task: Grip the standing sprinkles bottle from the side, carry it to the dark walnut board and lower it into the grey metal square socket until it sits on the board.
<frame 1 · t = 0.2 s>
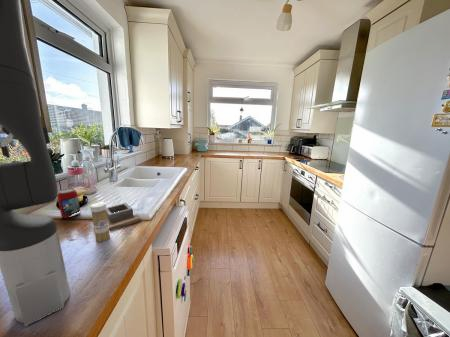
hand: (26, 156, 68), 29 cm above the worktop, tool pointing down, fingers open, 8 cm apart
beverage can: (71, 216, 85), on the worktop
socket board: (119, 217, 84), on the worktop
sprinkles bottle: (103, 239, 68), on the worktop
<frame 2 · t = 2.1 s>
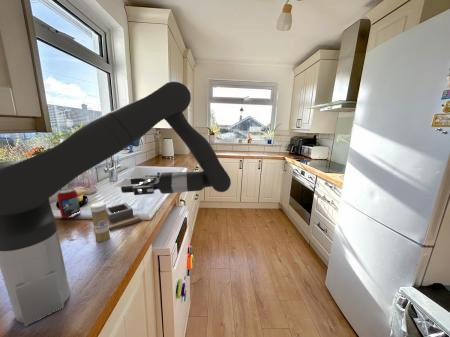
hand: (126, 185, 65), 20 cm above the worktop, tool horizontal, fingers open, 8 cm apart
nothing on the worktop moved.
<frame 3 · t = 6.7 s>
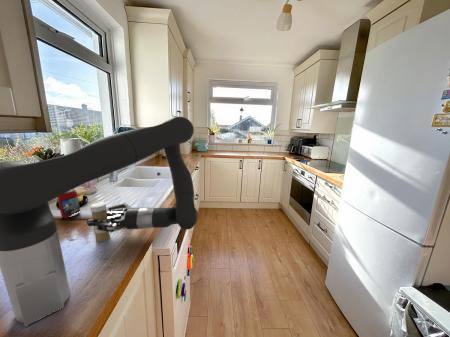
hand: (92, 219, 66), 8 cm above the worktop, tool horizontal, fingers closed on sprinkles bottle, 4 cm apart
sprinkles bottle: (103, 239, 68), on the worktop, touching gripper
everything else where it was.
when the fingers open (10 cm above the worktop, at t = 11.5 s): sprinkles bottle drops 1 cm, resting on socket board.
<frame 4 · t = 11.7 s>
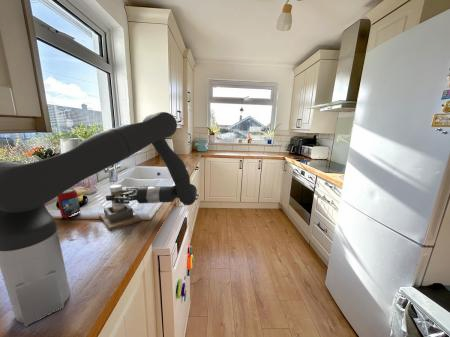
hand: (110, 195, 81), 11 cm above the worktop, tool horizontal, fingers open, 5 cm apart
sprinkles bottle: (119, 215, 83), point 1 cm above the worktop, touching socket board
everything else where it was.
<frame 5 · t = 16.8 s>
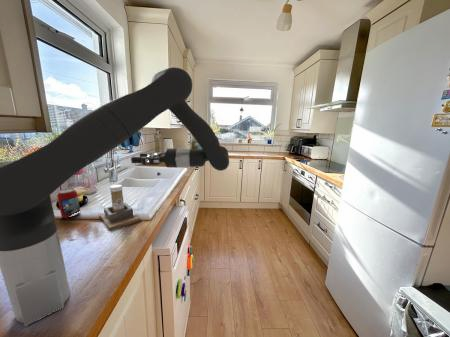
hand: (136, 158, 73), 28 cm above the worktop, tool horizontal, fingers open, 8 cm apart
nothing on the worktop moved.
at the end: sprinkles bottle 0.2 cm off-centre on the socket board, point 1.3 cm above the socket board's base; sprinkles bottle tilted 0°; the gripper is holding nothing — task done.
